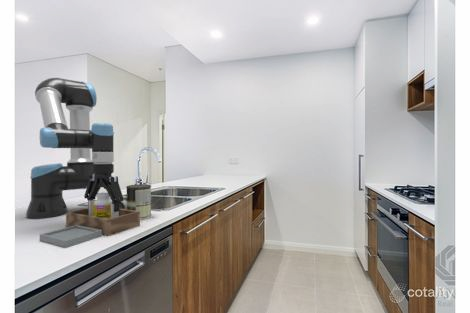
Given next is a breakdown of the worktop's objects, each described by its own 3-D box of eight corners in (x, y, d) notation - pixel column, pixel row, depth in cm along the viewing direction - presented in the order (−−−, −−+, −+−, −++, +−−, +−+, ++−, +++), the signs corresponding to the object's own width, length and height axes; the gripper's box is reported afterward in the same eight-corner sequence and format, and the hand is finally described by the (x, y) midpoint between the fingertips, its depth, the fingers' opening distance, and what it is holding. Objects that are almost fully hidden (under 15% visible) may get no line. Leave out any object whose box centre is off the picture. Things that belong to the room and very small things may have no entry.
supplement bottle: (93, 229, 93) (93, 195, 93) (94, 225, 99) (93, 192, 99) (113, 227, 97) (113, 193, 96) (112, 222, 102) (112, 191, 102)
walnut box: (66, 226, 97) (66, 212, 97) (99, 218, 109) (99, 205, 109) (108, 235, 86) (108, 219, 86) (139, 225, 99) (139, 211, 99)
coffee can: (122, 220, 106) (122, 187, 106) (131, 214, 116) (130, 184, 116) (147, 220, 107) (147, 187, 107) (153, 214, 117) (153, 184, 117)
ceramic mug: (129, 212, 120) (129, 196, 120) (125, 217, 112) (125, 199, 112) (105, 214, 118) (104, 198, 117) (99, 218, 110) (99, 201, 109)
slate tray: (39, 240, 82) (39, 234, 82) (76, 230, 92) (76, 225, 92) (65, 247, 76) (65, 241, 76) (101, 235, 86) (101, 230, 86)
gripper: (73, 163, 100) (74, 216, 100) (116, 164, 89) (117, 224, 89) (91, 162, 106) (92, 212, 107) (133, 163, 96) (133, 219, 96)
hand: (103, 218), depth 98 cm, fingers open, 12 cm apart
